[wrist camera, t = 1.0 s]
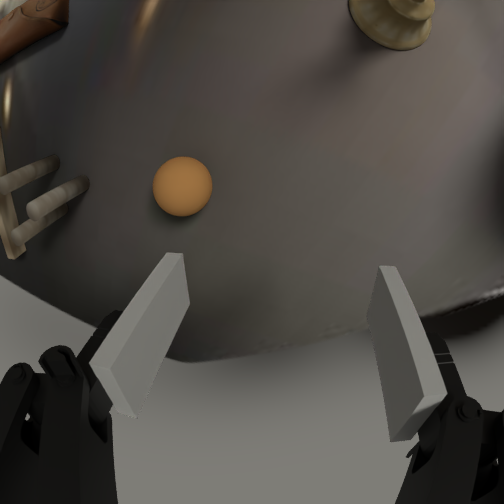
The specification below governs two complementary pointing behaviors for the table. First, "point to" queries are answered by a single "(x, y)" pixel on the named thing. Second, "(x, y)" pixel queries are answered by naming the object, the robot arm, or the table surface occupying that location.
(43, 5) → the sunglasses case
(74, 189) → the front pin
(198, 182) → the ball
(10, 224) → the grey long bar
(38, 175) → the pin
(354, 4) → the hand bell
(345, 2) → the table surface
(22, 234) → the pin
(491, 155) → the table surface
